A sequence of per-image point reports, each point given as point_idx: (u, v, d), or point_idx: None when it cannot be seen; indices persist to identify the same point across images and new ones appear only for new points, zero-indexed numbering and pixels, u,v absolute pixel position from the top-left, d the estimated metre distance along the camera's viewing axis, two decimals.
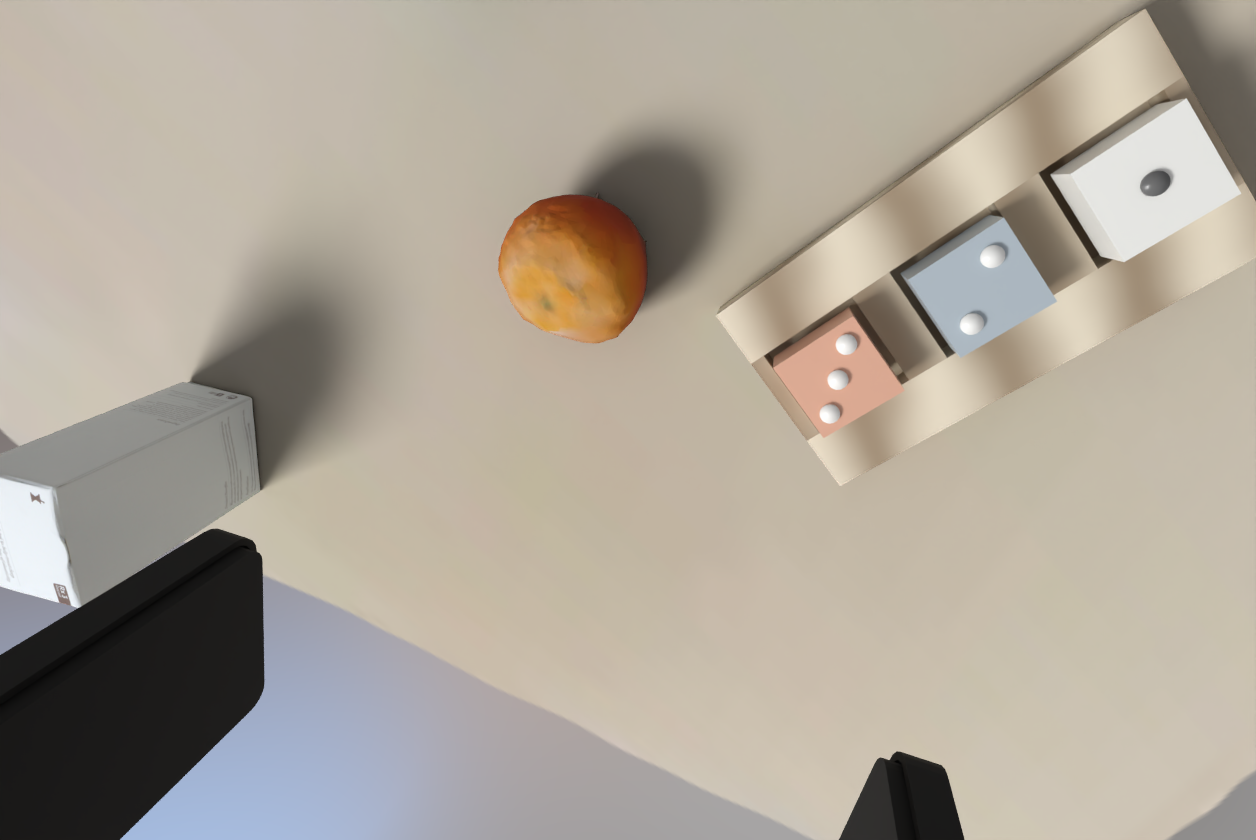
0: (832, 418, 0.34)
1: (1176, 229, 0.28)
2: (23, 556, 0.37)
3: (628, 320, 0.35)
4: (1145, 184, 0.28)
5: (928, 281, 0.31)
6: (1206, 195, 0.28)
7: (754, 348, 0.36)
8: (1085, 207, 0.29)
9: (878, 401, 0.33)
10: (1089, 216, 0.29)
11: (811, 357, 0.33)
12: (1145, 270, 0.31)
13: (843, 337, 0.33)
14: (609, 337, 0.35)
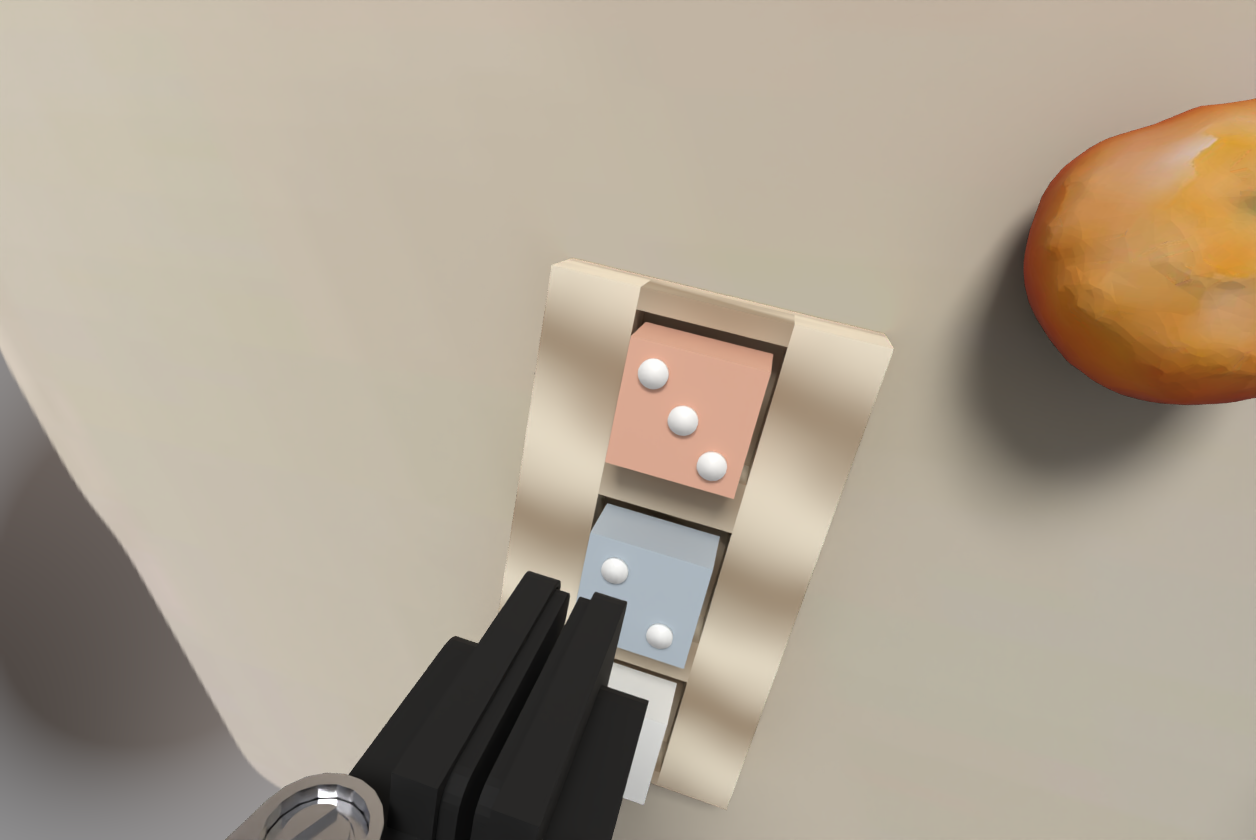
0: (644, 372, 0.22)
1: None
2: None
3: (1044, 268, 0.18)
4: None
5: (692, 580, 0.24)
6: None
7: (807, 347, 0.22)
8: None
9: (617, 429, 0.23)
10: None
11: (736, 421, 0.22)
12: None
13: (722, 472, 0.22)
14: (1067, 221, 0.18)
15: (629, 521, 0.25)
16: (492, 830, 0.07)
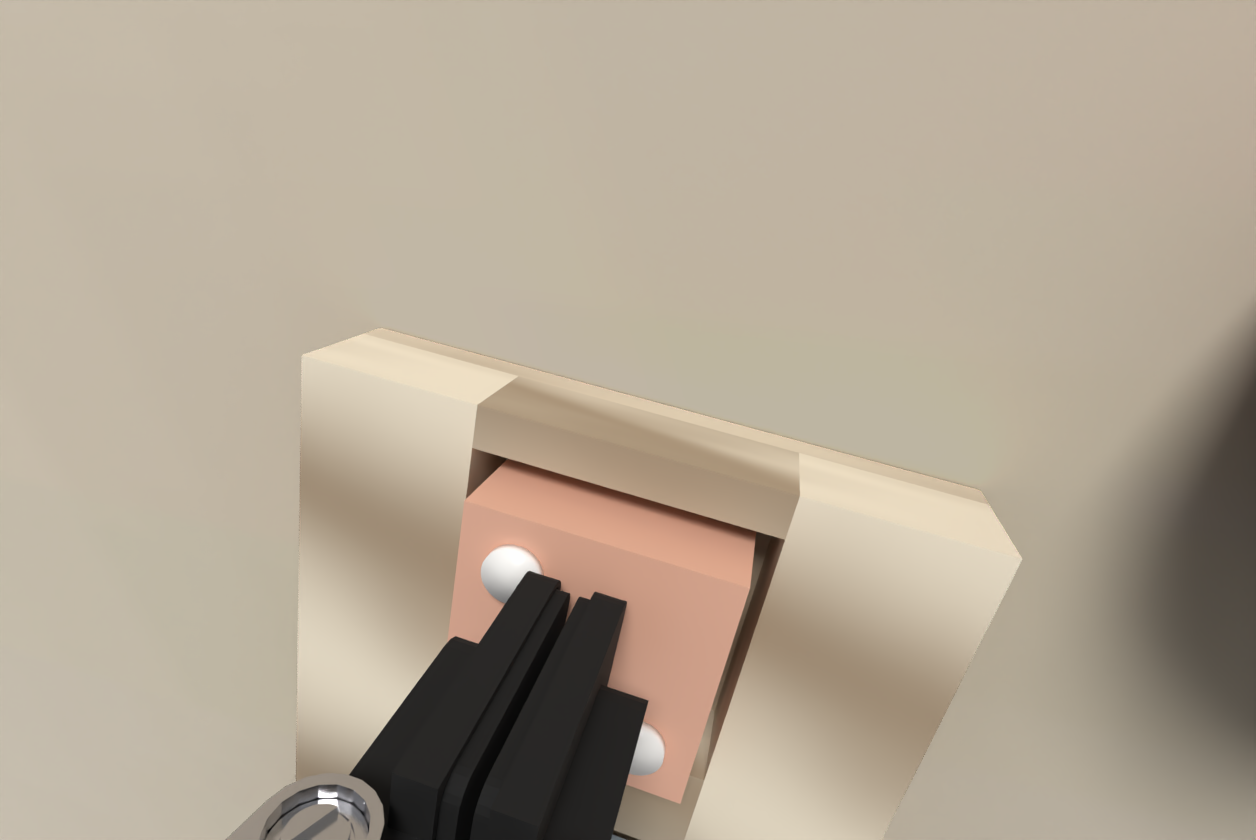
0: (493, 572, 0.11)
1: None
2: None
3: None
4: None
5: None
6: None
7: (826, 542, 0.10)
8: None
9: None
10: None
11: (680, 671, 0.11)
12: None
13: (655, 764, 0.11)
14: None
15: None
16: (491, 830, 0.07)
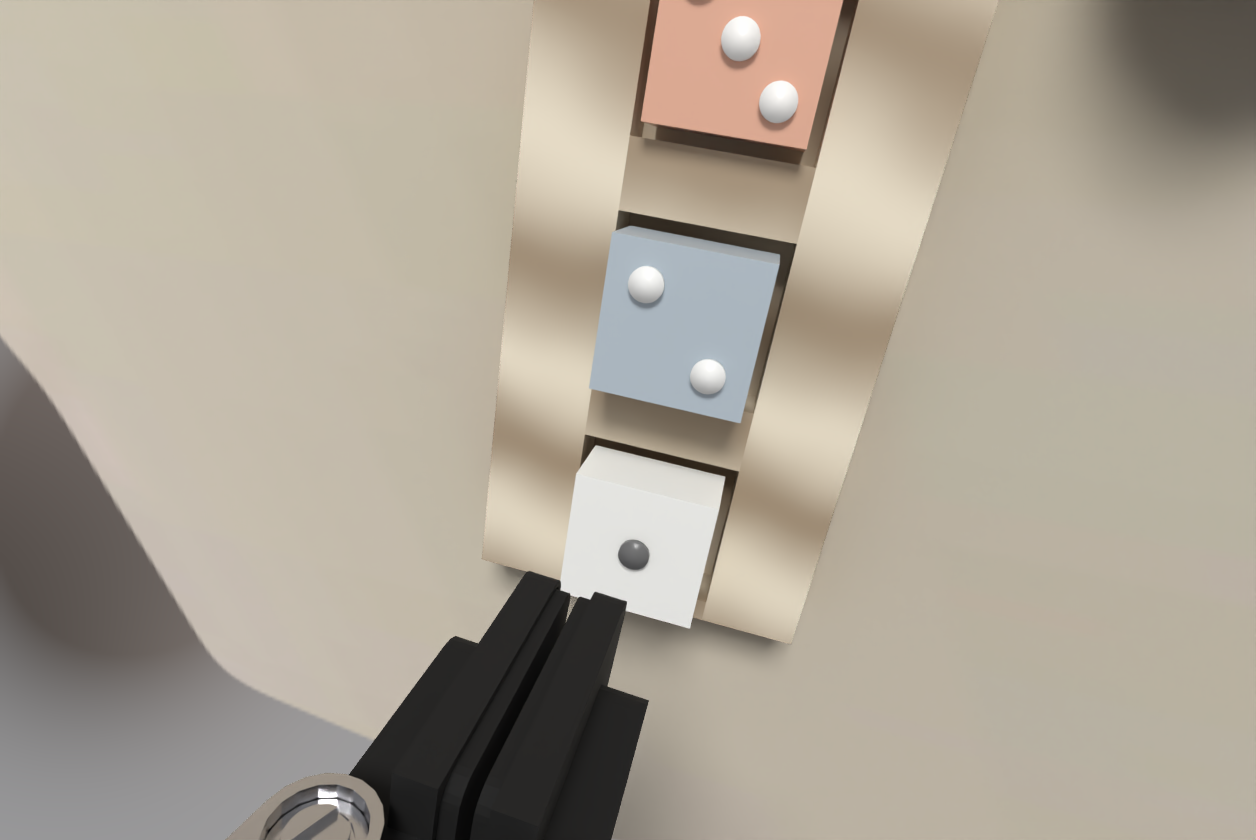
0: None
1: (568, 530, 0.22)
2: None
3: None
4: (641, 549, 0.21)
5: (751, 285, 0.18)
6: (581, 573, 0.22)
7: None
8: (666, 487, 0.21)
9: (656, 69, 0.18)
10: (652, 481, 0.21)
11: (810, 30, 0.17)
12: (545, 465, 0.24)
13: (793, 107, 0.17)
14: None
15: (661, 234, 0.19)
16: (492, 830, 0.07)
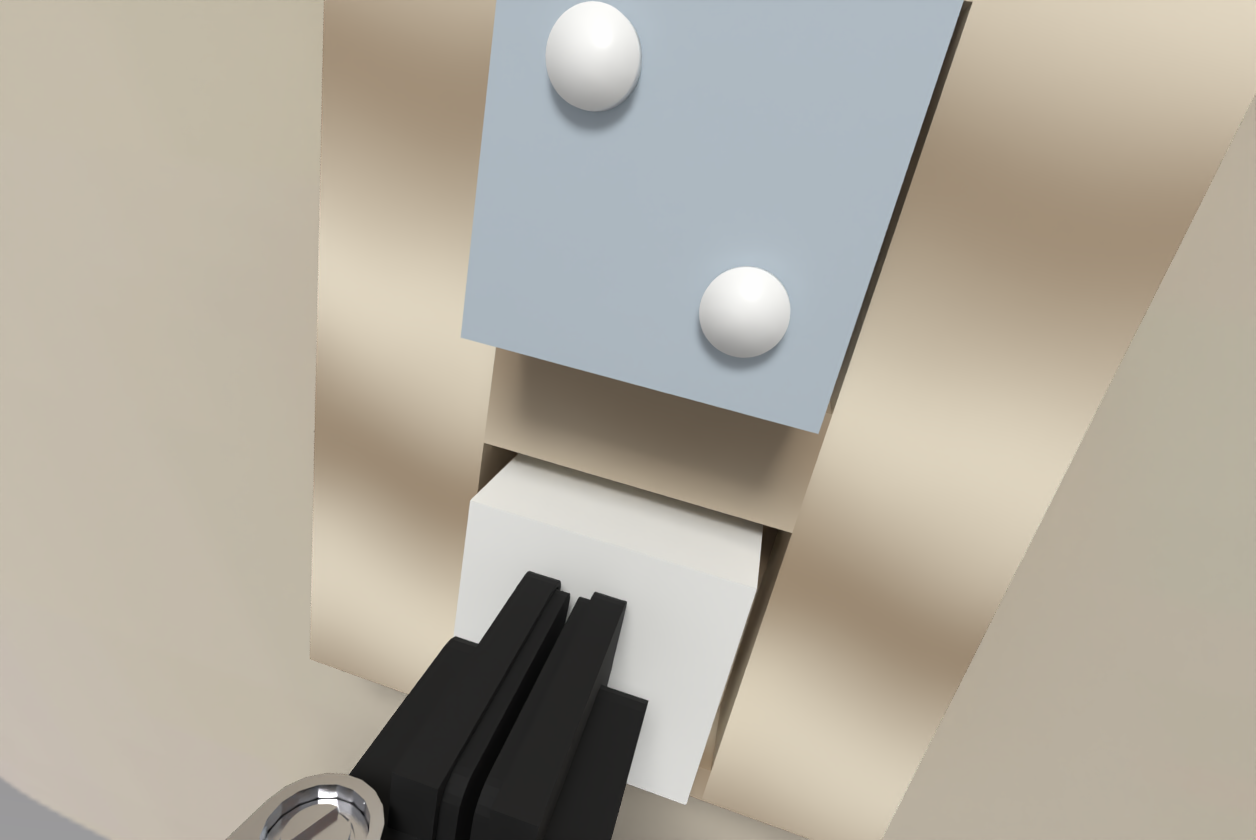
0: None
1: (460, 607, 0.11)
2: None
3: None
4: None
5: (879, 54, 0.06)
6: None
7: None
8: (651, 535, 0.11)
9: None
10: (624, 521, 0.11)
11: None
12: (412, 499, 0.12)
13: None
14: None
15: None
16: (492, 830, 0.07)
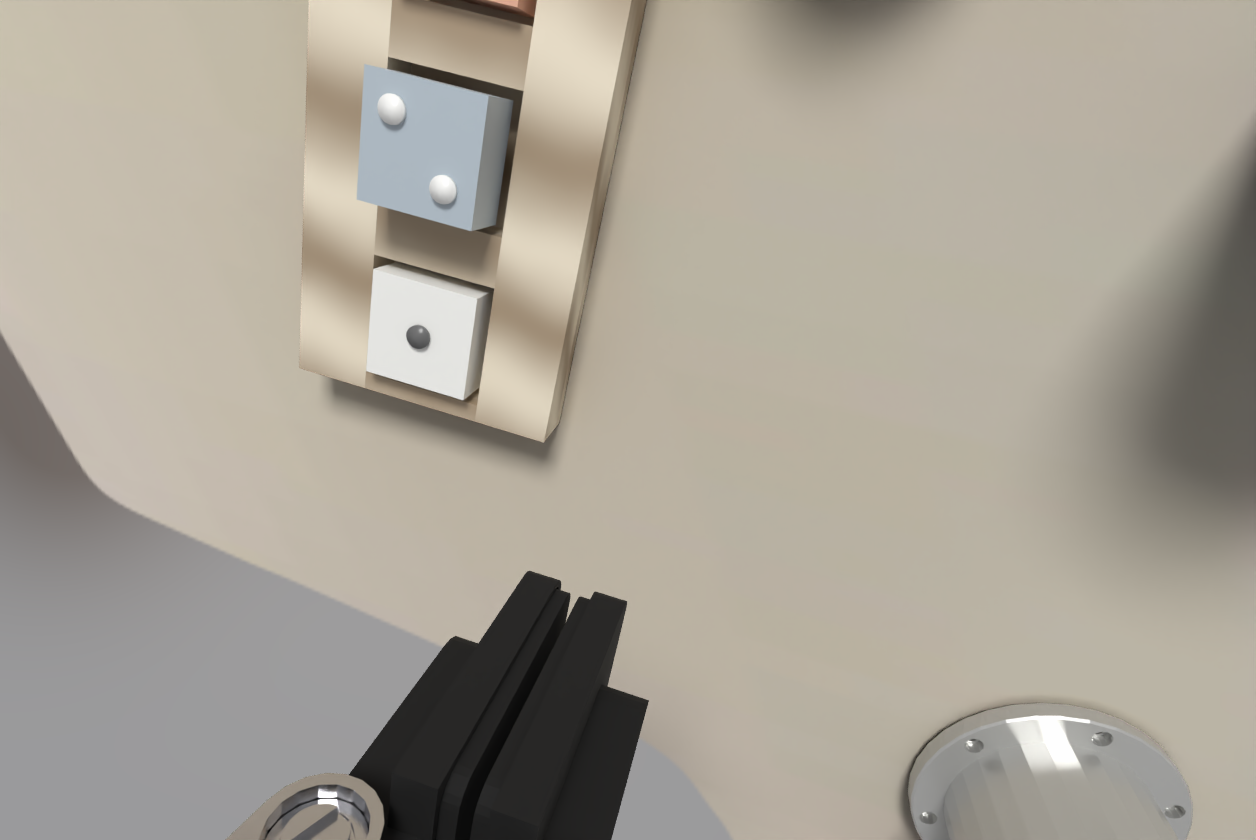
0: None
1: (371, 318, 0.28)
2: None
3: None
4: (422, 331, 0.28)
5: (469, 113, 0.23)
6: (382, 354, 0.29)
7: None
8: (443, 284, 0.28)
9: None
10: (434, 280, 0.28)
11: None
12: (345, 282, 0.29)
13: None
14: None
15: (416, 76, 0.24)
16: (492, 830, 0.07)
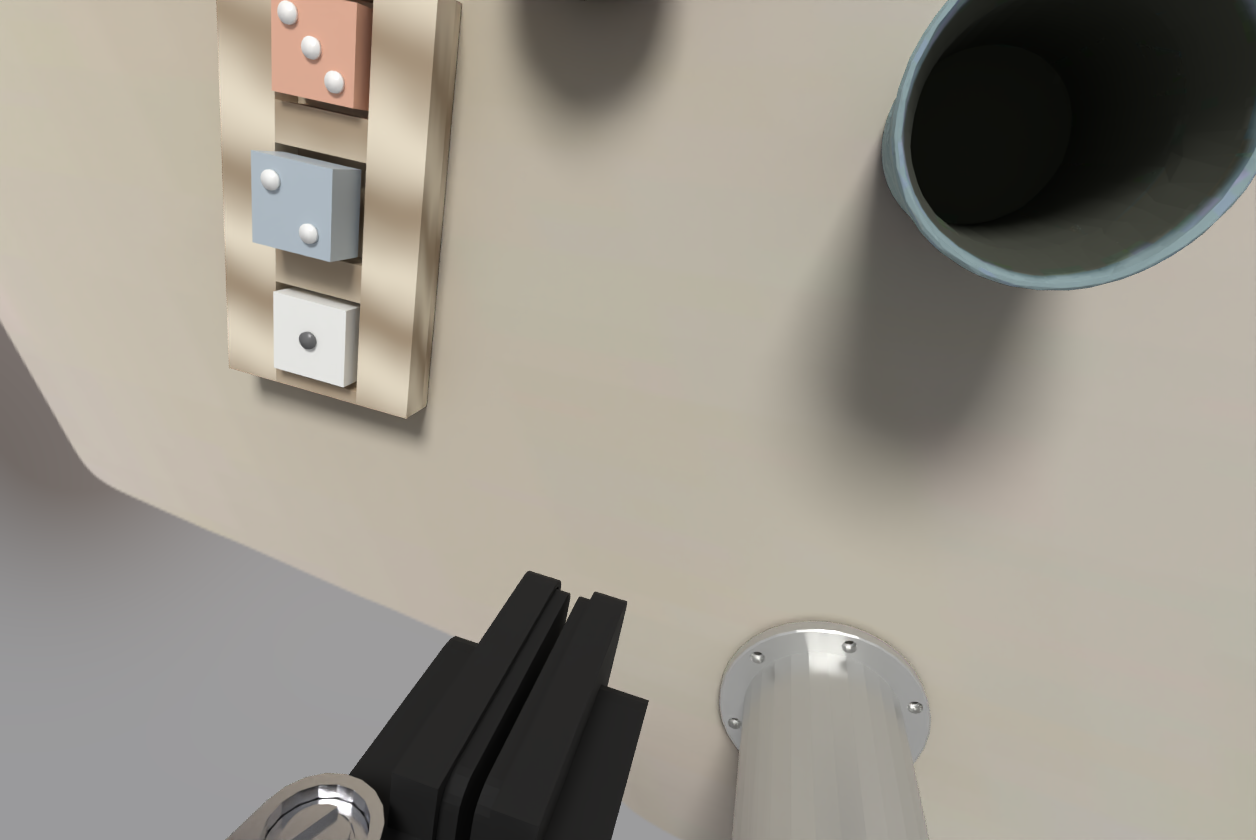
0: (281, 11, 0.32)
1: (275, 328, 0.39)
2: None
3: None
4: (310, 336, 0.38)
5: (321, 181, 0.33)
6: (284, 354, 0.39)
7: None
8: (324, 301, 0.38)
9: (275, 62, 0.33)
10: (319, 299, 0.38)
11: (343, 44, 0.32)
12: (257, 302, 0.39)
13: (340, 85, 0.33)
14: None
15: (291, 155, 0.35)
16: (492, 830, 0.07)
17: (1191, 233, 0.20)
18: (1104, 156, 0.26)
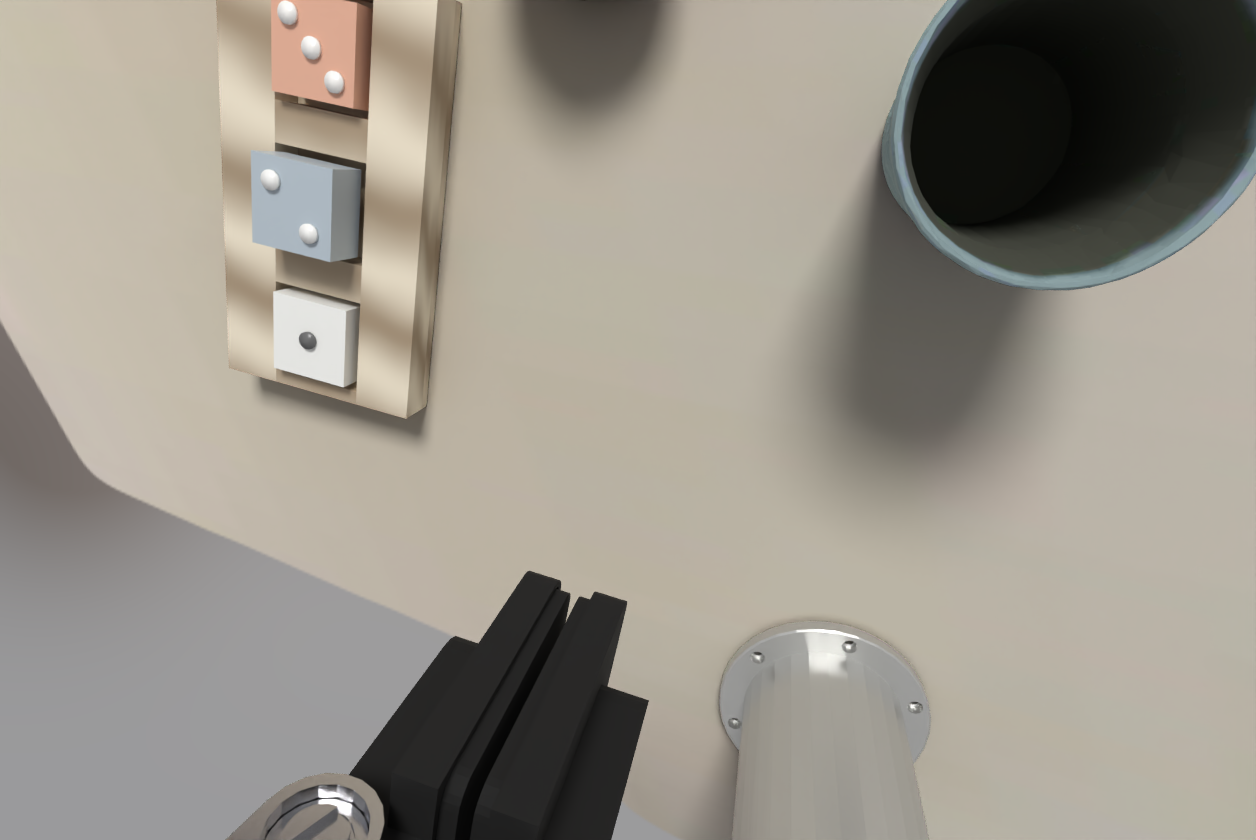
0: (281, 11, 0.32)
1: (275, 328, 0.39)
2: None
3: None
4: (310, 336, 0.38)
5: (321, 181, 0.33)
6: (284, 354, 0.39)
7: None
8: (324, 301, 0.38)
9: (275, 62, 0.33)
10: (319, 299, 0.38)
11: (343, 44, 0.32)
12: (257, 302, 0.39)
13: (340, 85, 0.33)
14: None
15: (291, 155, 0.35)
16: (492, 830, 0.07)
17: (1191, 233, 0.20)
18: (1104, 155, 0.26)
